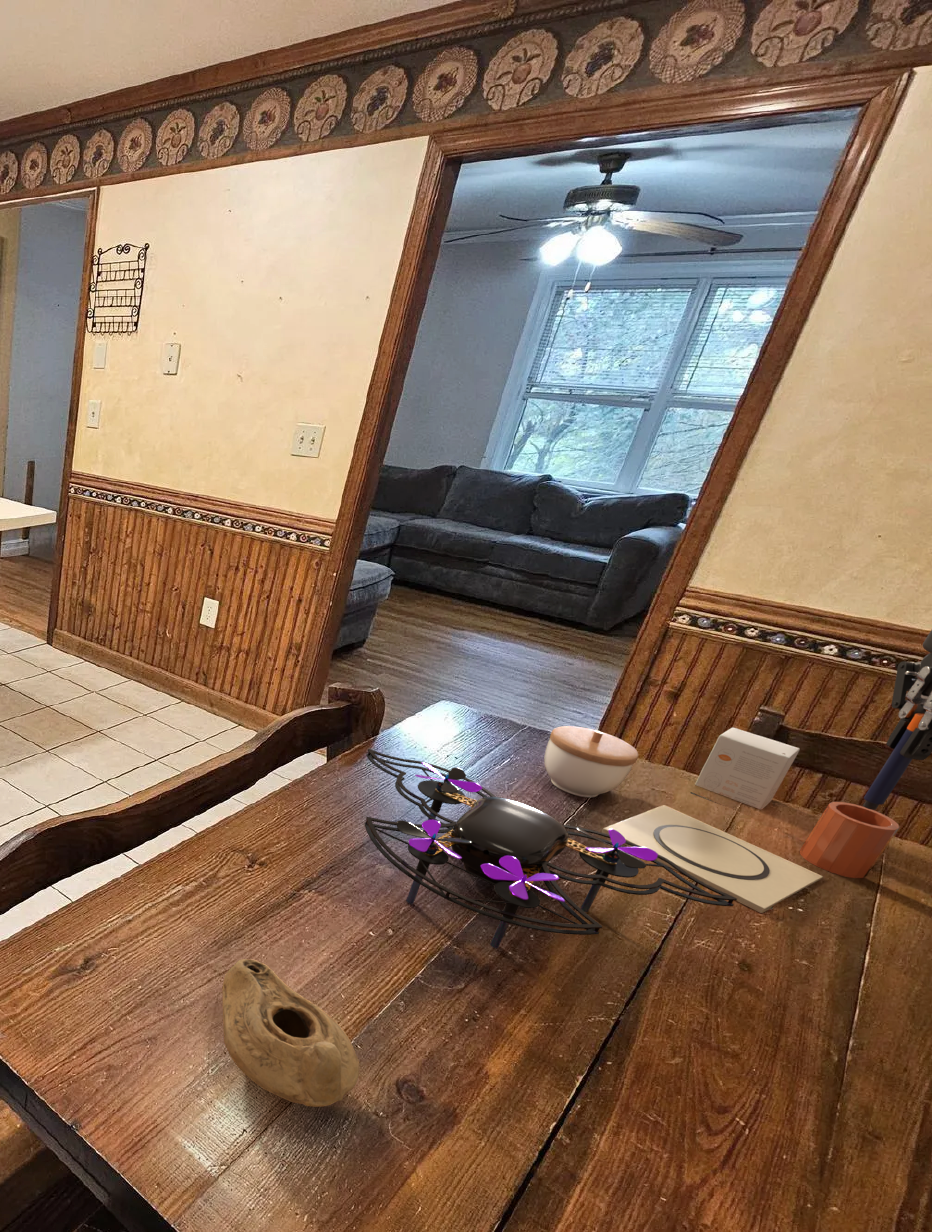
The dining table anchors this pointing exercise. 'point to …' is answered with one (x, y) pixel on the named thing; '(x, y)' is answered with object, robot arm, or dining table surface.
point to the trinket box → (587, 760)
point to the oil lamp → (285, 1038)
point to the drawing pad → (716, 857)
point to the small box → (746, 767)
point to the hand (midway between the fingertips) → (904, 752)
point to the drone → (514, 852)
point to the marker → (891, 770)
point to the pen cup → (848, 839)
